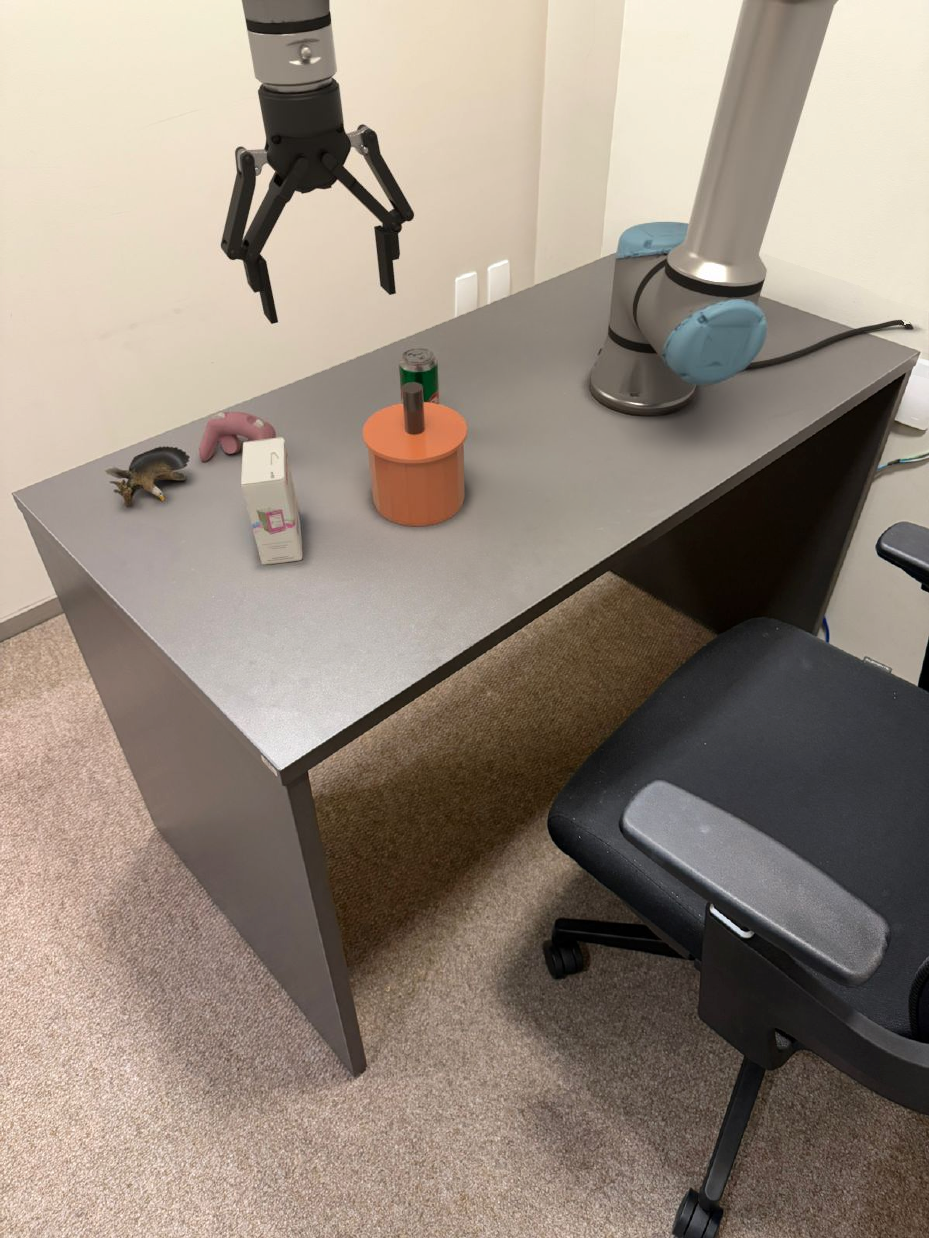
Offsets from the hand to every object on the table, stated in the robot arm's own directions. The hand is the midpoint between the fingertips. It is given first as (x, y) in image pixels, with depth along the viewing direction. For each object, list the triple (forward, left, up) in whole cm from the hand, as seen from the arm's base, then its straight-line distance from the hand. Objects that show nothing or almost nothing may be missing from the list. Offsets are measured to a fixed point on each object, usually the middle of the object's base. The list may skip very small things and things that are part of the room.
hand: (330, 304), depth 94 cm
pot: (-6, +6, -24) cm, 26 cm away
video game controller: (+12, -13, -24) cm, 30 cm away
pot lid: (-6, +6, -15) cm, 17 cm away
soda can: (-12, -7, -24) cm, 28 cm away
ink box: (+12, +7, -24) cm, 28 cm away
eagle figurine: (+24, -10, -24) cm, 35 cm away
